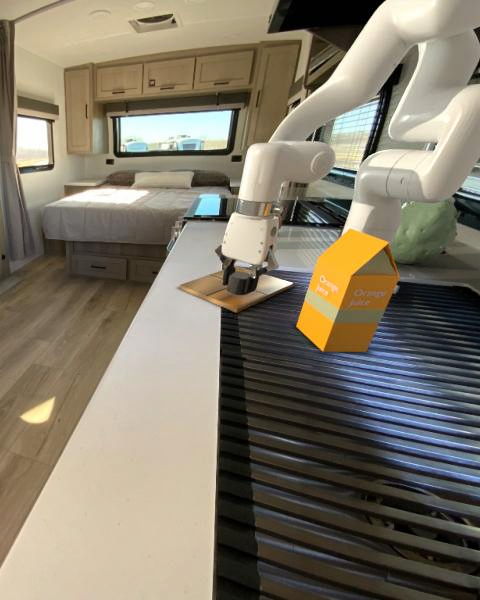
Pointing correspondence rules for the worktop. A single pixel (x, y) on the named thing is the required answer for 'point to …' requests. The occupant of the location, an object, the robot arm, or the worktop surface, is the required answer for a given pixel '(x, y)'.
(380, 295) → the orange juice
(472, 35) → the robot arm
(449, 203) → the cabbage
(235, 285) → the black ridged cylinder
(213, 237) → the worktop surface
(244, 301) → the grid board
